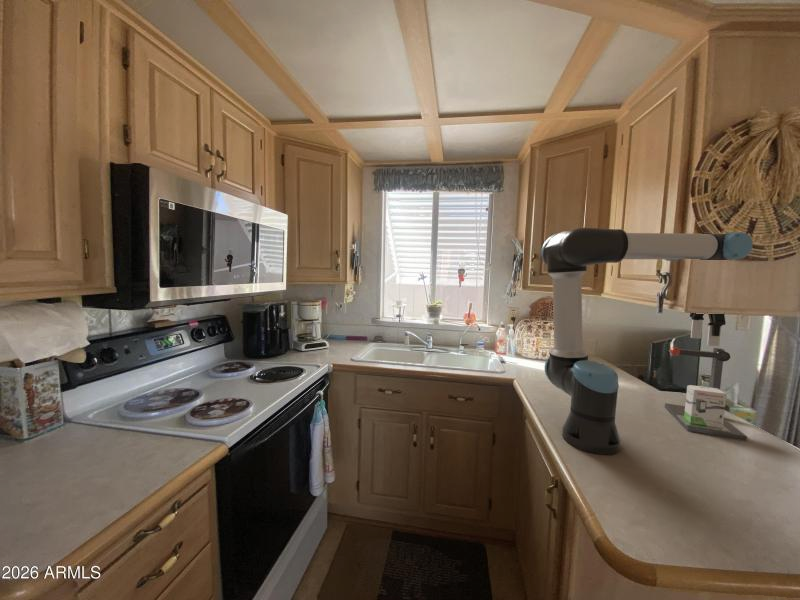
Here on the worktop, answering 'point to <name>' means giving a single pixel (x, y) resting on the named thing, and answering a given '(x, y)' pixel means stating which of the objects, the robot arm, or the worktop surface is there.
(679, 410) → the press
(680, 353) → the lever
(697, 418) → the ink box
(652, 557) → the worktop surface
